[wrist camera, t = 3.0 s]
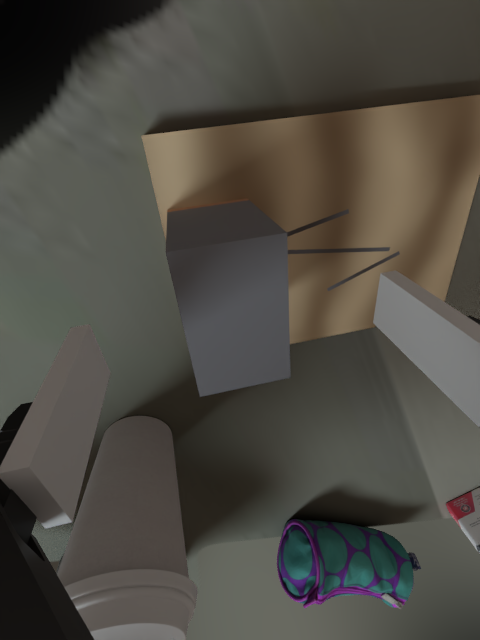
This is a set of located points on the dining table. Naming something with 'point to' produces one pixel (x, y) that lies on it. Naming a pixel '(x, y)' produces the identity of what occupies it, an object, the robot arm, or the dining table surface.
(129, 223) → the dining table surface
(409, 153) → the board
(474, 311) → the dining table surface
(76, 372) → the robot arm
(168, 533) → the coffee cup
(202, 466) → the dining table surface
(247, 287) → the block
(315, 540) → the pencil case
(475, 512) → the ink box
